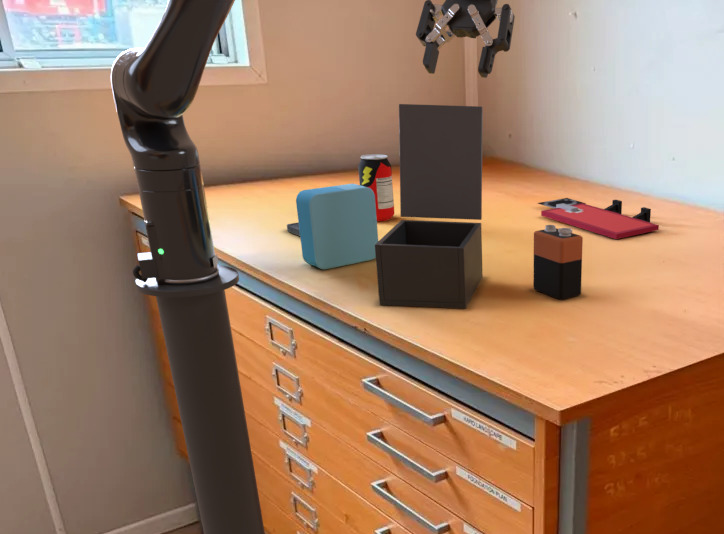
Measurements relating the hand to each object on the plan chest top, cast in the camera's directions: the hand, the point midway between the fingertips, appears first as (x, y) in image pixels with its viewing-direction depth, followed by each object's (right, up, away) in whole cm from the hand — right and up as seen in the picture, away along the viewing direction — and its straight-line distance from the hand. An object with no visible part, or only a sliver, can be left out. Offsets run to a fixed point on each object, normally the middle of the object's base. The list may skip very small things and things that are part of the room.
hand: (455, 72), depth 129 cm
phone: (-29, -16, +32) cm, 46 cm away
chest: (-4, -32, +4) cm, 32 cm away
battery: (+15, -32, +4) cm, 36 cm away
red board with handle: (+22, -9, +49) cm, 54 cm away
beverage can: (-21, -10, +46) cm, 51 cm away
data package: (-21, -25, +17) cm, 37 cm away
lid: (-3, -12, +4) cm, 13 cm away
